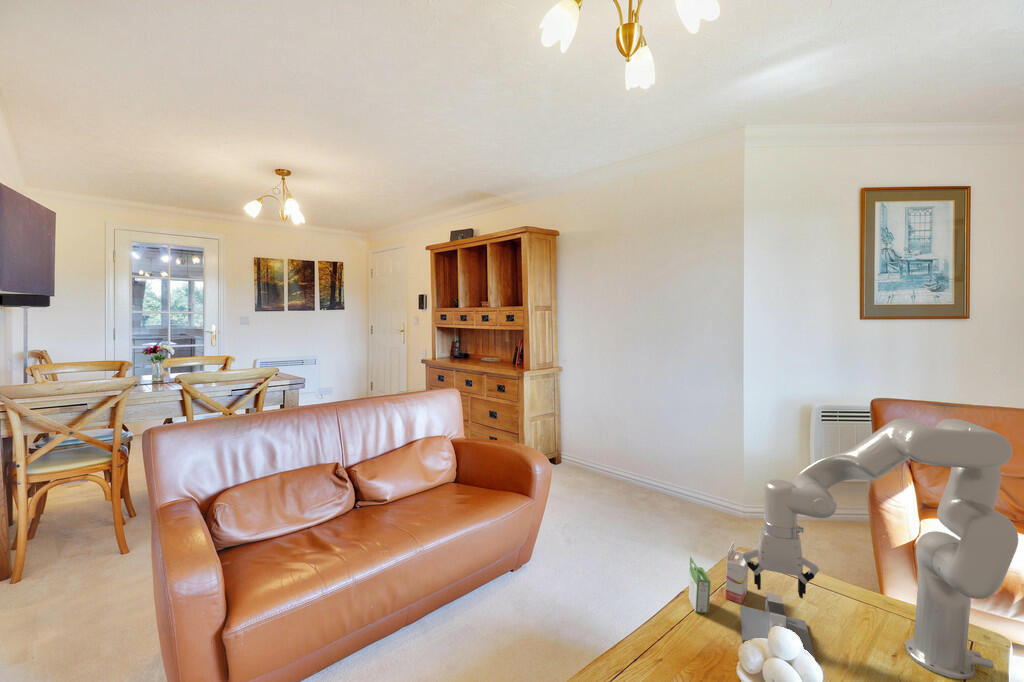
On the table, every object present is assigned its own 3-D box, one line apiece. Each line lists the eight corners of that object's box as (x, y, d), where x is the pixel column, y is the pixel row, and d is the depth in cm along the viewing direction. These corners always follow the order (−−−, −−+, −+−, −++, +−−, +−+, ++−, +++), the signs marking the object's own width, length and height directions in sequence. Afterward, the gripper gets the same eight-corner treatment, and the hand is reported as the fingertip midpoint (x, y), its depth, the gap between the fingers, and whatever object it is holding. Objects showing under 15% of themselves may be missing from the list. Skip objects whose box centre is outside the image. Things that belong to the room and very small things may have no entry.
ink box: (709, 614, 132) (711, 568, 131) (695, 613, 132) (696, 568, 131) (701, 598, 139) (703, 555, 138) (688, 597, 139) (689, 555, 138)
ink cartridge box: (743, 605, 136) (745, 556, 135) (724, 598, 139) (726, 551, 138) (748, 590, 143) (750, 544, 142) (730, 584, 146) (732, 539, 144)
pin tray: (804, 624, 128) (805, 606, 127) (815, 662, 114) (816, 643, 114) (740, 608, 134) (740, 592, 134) (742, 643, 120) (743, 624, 120)
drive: (780, 619, 128) (781, 595, 127) (784, 644, 119) (786, 617, 118) (765, 616, 129) (766, 592, 129) (768, 639, 120) (770, 614, 120)
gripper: (816, 527, 122) (815, 590, 123) (742, 517, 129) (742, 576, 130) (822, 541, 115) (820, 607, 116) (744, 529, 122) (743, 591, 123)
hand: (779, 591), depth 123 cm, fingers open, 9 cm apart
